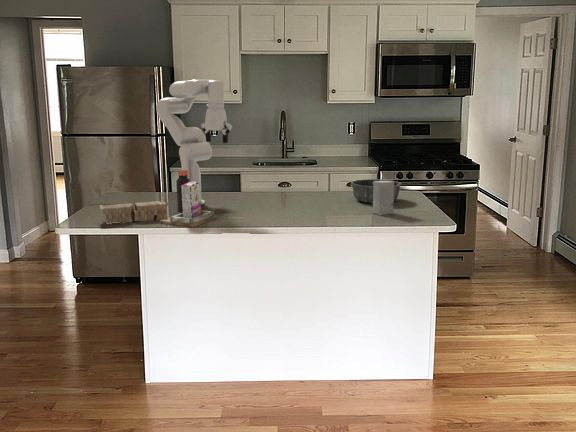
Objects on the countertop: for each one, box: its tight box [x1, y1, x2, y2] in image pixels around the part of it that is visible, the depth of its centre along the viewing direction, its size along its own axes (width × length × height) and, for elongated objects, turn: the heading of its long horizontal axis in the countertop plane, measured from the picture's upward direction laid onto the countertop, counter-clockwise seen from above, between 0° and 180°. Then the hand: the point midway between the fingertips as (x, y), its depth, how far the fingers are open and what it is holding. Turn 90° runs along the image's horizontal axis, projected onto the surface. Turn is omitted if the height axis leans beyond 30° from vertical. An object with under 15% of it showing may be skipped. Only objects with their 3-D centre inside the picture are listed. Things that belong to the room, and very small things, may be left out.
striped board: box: [159, 209, 218, 228], centre depth 289 cm, size 18×20×3 cm
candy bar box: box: [181, 181, 202, 218], centre depth 286 cm, size 11×5×16 cm, turn 166°
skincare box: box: [372, 180, 395, 216], centre depth 301 cm, size 8×7×16 cm
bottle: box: [175, 169, 190, 213], centre depth 309 cm, size 7×7×20 cm
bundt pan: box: [350, 178, 402, 204], centre depth 332 cm, size 26×26×10 cm
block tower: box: [99, 200, 167, 224], centre depth 289 cm, size 8×8×29 cm
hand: (216, 142), depth 303 cm, fingers open, 9 cm apart
